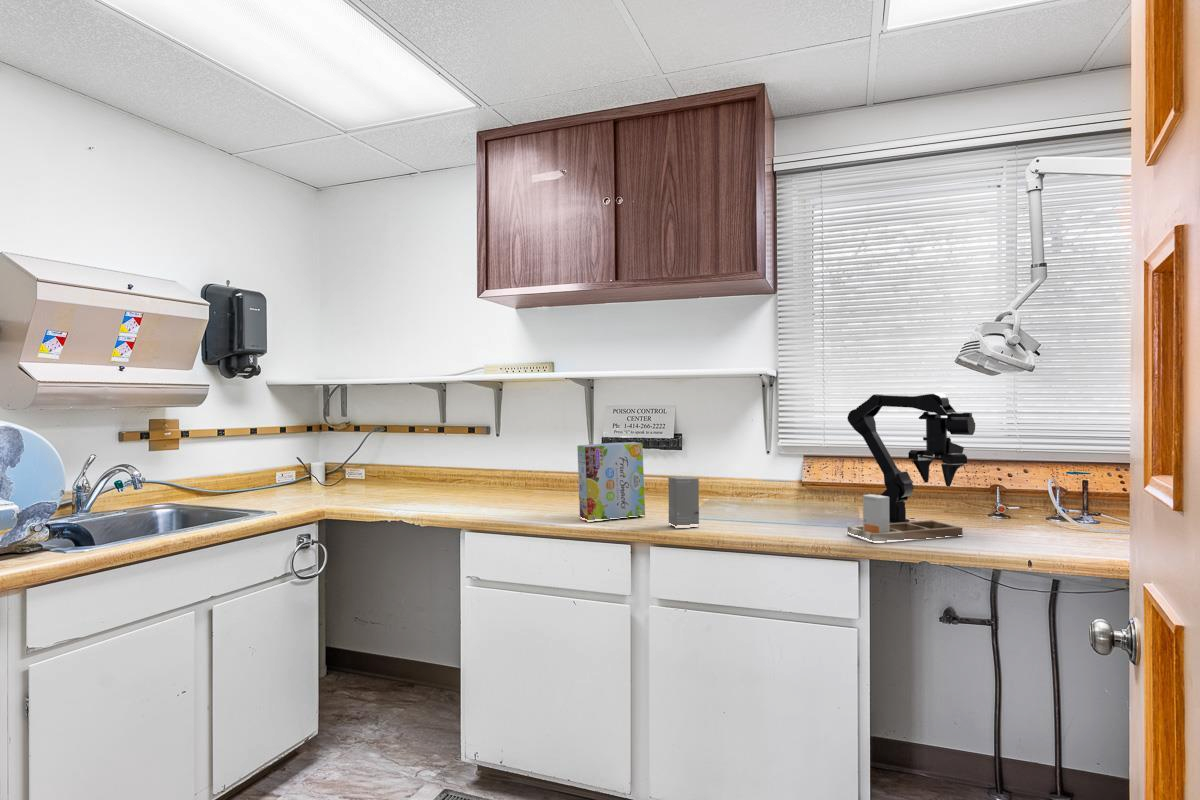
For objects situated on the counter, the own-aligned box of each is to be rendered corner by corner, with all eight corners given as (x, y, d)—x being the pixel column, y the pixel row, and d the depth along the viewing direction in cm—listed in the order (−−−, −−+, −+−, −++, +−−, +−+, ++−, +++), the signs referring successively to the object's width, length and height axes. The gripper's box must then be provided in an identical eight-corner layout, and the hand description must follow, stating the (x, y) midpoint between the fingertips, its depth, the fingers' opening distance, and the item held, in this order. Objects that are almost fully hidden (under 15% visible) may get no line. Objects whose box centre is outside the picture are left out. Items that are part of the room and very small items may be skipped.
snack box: (635, 513, 236) (633, 441, 235) (646, 517, 228) (644, 442, 227) (577, 519, 227) (576, 444, 227) (587, 523, 219) (585, 445, 219)
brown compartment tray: (847, 535, 196) (847, 526, 195) (931, 528, 203) (931, 520, 203) (874, 543, 184) (873, 534, 184) (962, 536, 191) (962, 527, 191)
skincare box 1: (675, 529, 207) (675, 479, 207) (667, 525, 214) (666, 476, 214) (700, 527, 209) (700, 477, 209) (691, 523, 216) (691, 475, 216)
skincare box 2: (862, 536, 193) (862, 495, 192) (872, 534, 195) (872, 493, 194) (880, 540, 187) (879, 497, 187) (890, 538, 189) (890, 496, 189)
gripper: (982, 434, 198) (982, 487, 199) (936, 431, 216) (936, 479, 217) (950, 436, 196) (951, 489, 196) (907, 432, 214) (907, 481, 214)
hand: (937, 484), depth 206 cm, fingers open, 9 cm apart
